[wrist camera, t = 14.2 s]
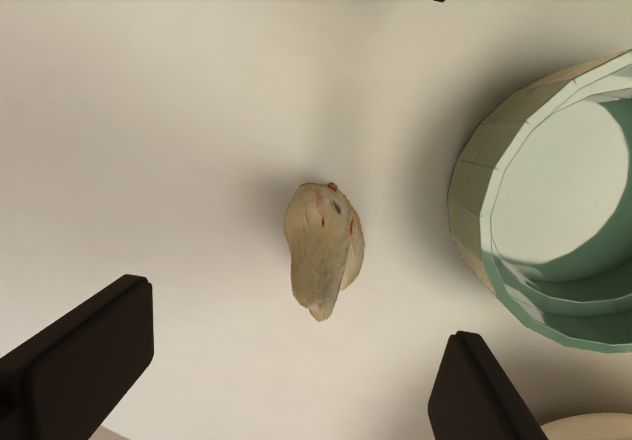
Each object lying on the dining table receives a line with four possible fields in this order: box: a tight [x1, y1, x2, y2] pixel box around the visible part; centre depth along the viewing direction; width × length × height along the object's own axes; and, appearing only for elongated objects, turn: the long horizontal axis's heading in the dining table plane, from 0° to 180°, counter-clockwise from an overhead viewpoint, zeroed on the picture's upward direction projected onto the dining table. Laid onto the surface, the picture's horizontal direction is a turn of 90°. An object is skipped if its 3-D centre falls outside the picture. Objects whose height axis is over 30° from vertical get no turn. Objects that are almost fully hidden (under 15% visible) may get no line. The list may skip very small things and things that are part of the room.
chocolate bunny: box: [284, 183, 365, 322], centre depth 17 cm, size 6×8×10 cm
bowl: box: [447, 49, 632, 354], centre depth 17 cm, size 15×15×6 cm
